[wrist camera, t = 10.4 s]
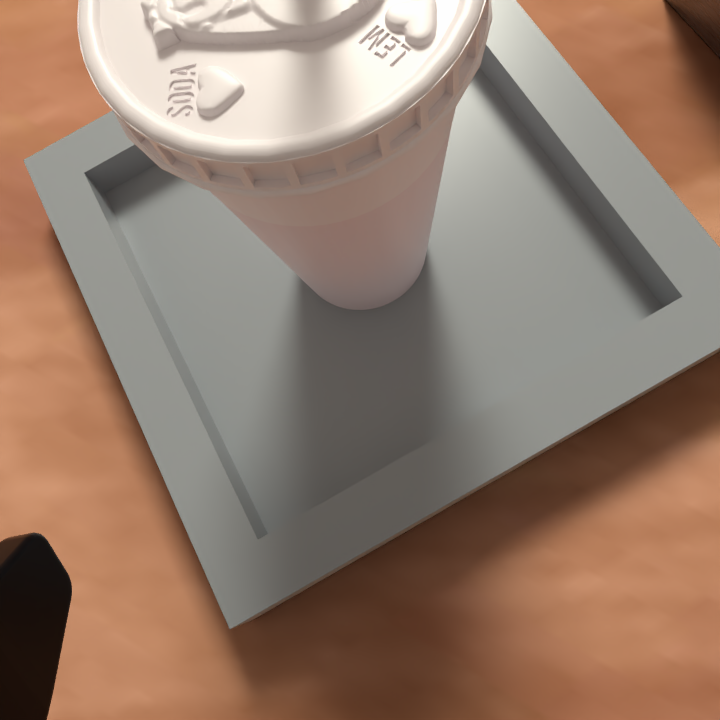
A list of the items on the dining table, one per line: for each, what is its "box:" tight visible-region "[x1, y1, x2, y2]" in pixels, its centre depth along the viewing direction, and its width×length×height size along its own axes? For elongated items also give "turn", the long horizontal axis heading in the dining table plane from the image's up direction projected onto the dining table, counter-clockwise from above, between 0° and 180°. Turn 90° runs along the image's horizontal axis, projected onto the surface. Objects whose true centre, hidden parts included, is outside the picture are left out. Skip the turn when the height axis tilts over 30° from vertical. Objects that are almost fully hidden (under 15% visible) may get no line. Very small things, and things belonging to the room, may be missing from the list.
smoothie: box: [78, 0, 492, 310], centre depth 12 cm, size 6×6×14 cm
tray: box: [24, 0, 720, 629], centre depth 19 cm, size 15×15×2 cm
